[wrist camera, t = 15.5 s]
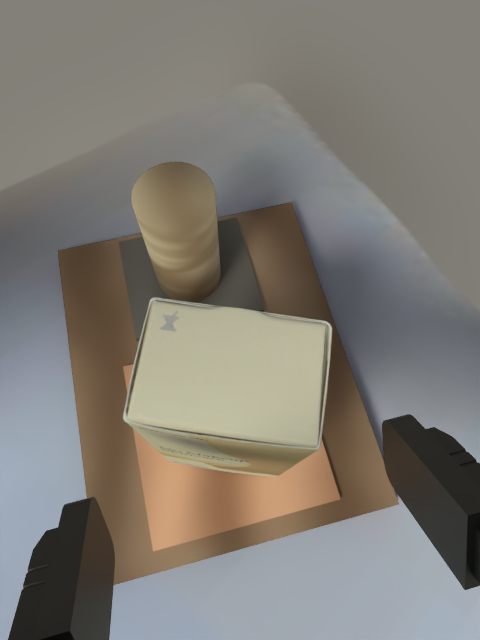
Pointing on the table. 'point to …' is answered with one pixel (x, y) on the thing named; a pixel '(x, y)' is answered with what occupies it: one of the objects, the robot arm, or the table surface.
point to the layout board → (119, 355)
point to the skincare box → (229, 386)
